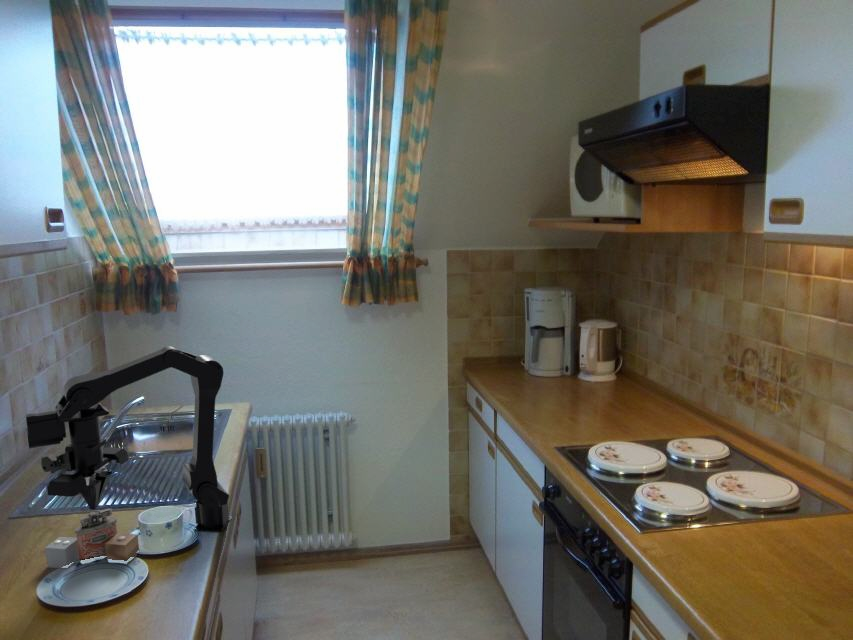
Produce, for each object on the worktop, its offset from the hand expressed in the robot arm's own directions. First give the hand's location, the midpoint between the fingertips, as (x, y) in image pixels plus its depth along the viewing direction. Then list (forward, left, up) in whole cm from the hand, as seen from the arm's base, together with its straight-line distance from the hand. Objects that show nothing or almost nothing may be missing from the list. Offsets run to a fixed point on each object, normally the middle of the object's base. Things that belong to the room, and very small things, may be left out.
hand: (93, 509), depth 142 cm
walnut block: (-6, 0, -11) cm, 12 cm away
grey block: (+6, +3, -11) cm, 13 cm away
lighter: (0, 0, -11) cm, 11 cm away
